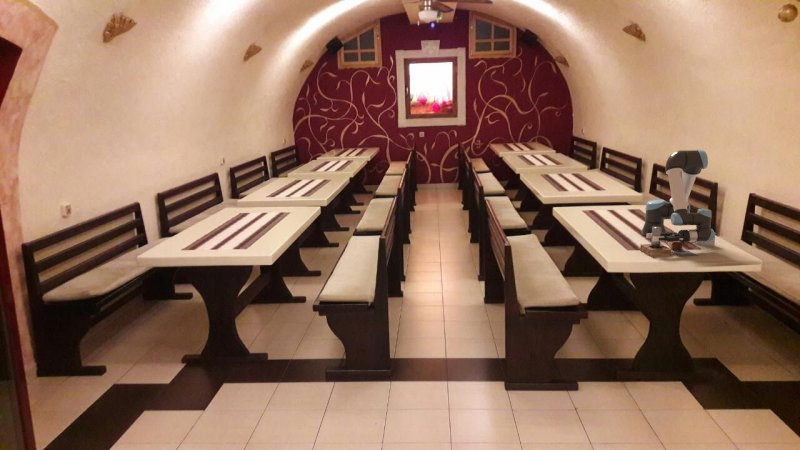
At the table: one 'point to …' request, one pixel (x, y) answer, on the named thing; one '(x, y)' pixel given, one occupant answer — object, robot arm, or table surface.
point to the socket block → (655, 250)
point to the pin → (655, 233)
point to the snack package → (675, 245)
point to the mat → (683, 253)
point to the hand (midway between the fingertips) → (649, 237)
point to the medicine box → (707, 242)
